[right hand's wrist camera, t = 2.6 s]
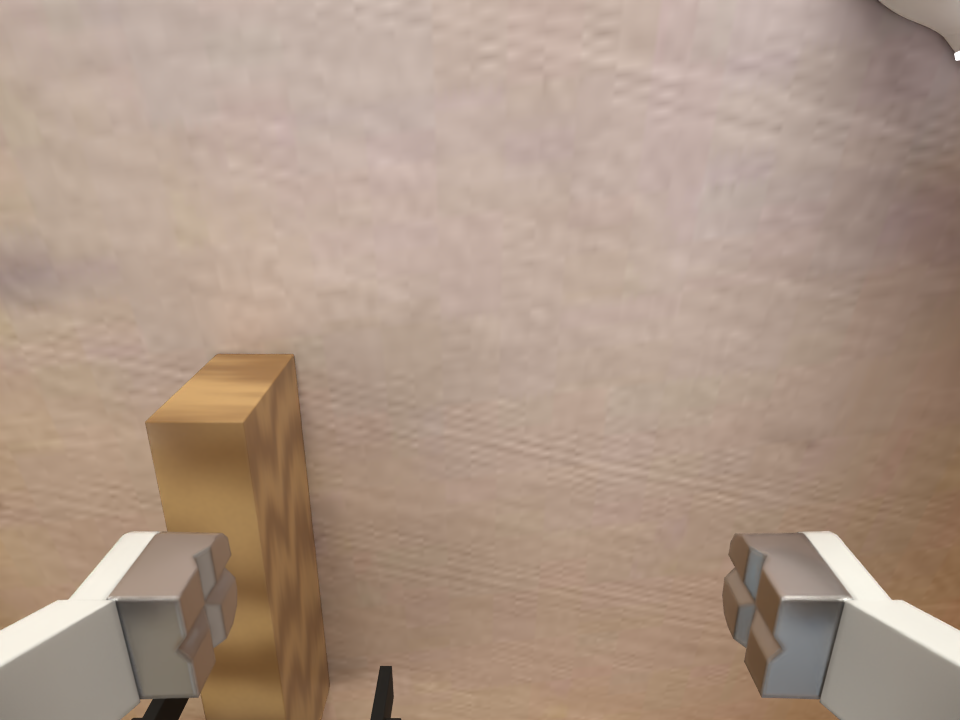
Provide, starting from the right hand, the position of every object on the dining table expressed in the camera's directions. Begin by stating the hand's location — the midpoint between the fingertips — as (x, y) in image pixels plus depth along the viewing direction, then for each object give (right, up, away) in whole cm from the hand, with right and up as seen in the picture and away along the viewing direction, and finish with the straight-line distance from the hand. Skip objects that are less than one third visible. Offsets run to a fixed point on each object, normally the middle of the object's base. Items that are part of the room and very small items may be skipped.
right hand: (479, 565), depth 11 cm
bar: (-13, -8, +32) cm, 35 cm away
